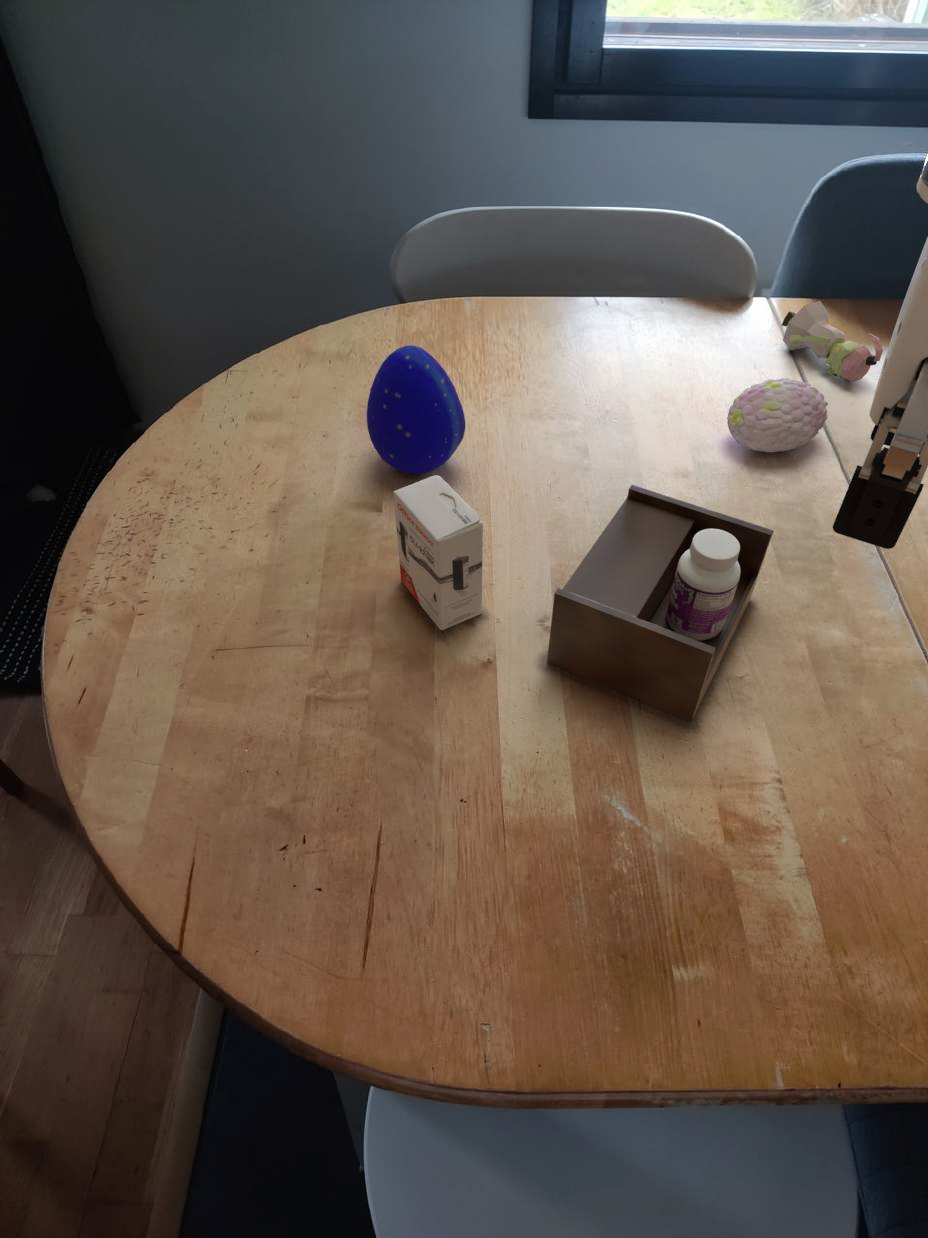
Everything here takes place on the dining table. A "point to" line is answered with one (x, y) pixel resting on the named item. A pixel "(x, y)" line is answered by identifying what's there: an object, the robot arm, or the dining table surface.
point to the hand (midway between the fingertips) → (880, 489)
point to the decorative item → (777, 415)
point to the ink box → (440, 550)
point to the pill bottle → (704, 585)
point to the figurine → (829, 342)
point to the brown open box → (647, 604)
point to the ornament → (414, 412)
